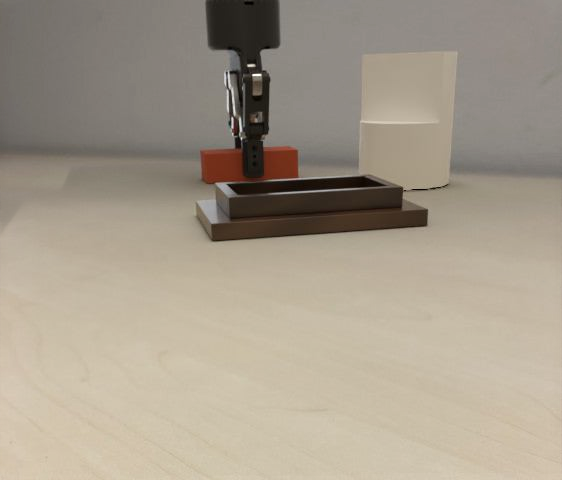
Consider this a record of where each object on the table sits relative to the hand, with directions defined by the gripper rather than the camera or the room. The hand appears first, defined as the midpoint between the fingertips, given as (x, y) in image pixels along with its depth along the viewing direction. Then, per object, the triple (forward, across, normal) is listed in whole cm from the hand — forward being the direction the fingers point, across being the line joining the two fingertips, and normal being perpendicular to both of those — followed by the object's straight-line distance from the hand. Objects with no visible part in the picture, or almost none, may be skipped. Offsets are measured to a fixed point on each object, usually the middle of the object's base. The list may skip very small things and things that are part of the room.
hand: (249, 173), depth 77 cm
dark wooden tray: (0, +25, 0) cm, 25 cm away
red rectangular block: (0, 0, 0) cm, 0 cm away
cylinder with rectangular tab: (+1, +10, +14) cm, 17 cm away
